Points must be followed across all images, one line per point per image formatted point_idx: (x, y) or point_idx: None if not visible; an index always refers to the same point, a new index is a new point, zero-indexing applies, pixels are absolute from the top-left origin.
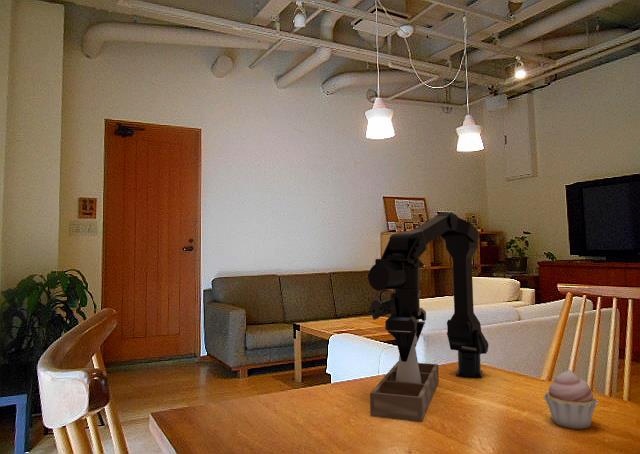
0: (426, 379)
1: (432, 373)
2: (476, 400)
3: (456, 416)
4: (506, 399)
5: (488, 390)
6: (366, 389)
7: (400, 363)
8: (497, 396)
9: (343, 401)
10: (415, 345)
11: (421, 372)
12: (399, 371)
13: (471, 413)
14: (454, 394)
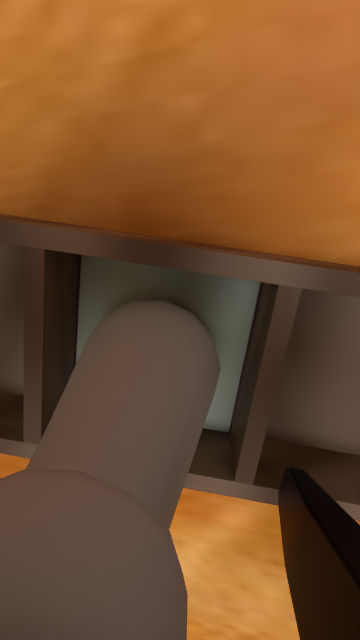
0: (235, 446)
1: (248, 494)
2: (177, 551)
3: (3, 476)
4: (205, 625)
5: None
6: (260, 123)
7: (75, 372)
8: (233, 612)
9: (31, 28)
10: (289, 584)
11: (261, 445)
12: (90, 343)
13: None
14: (235, 500)
